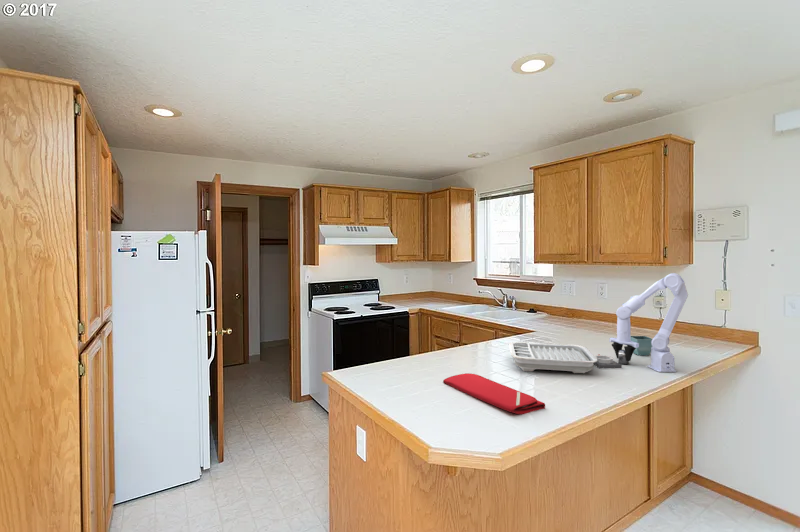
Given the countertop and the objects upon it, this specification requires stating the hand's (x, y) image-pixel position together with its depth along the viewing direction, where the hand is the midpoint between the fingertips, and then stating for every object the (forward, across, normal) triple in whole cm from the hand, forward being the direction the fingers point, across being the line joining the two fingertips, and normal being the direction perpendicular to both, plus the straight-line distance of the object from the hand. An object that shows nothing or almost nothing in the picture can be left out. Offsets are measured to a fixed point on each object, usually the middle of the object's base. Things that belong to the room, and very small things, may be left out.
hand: (623, 359), depth 198 cm
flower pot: (+2, +9, -23) cm, 25 cm away
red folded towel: (+3, -9, +83) cm, 83 cm away
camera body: (+2, +3, +10) cm, 10 cm away
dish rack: (+2, +12, +34) cm, 36 cm away
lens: (+2, 0, 0) cm, 2 cm away
